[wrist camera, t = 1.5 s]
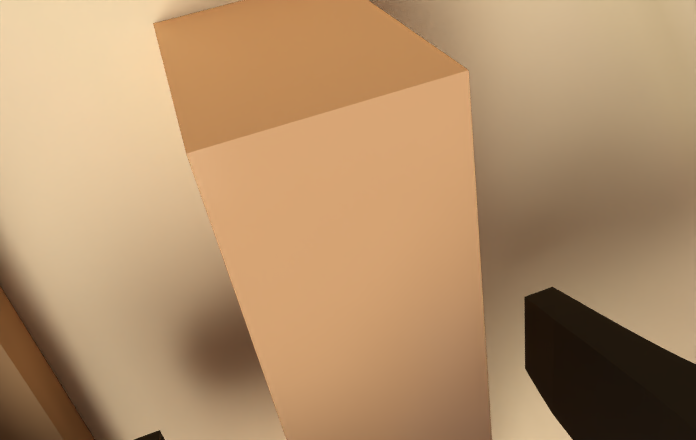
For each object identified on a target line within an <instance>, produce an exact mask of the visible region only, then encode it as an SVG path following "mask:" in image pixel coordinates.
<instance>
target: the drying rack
mask: <svg viewBox="0 0 696 440" xmlns="http://www.w3.org/2000/svg"><path fill="white" fill-rule="evenodd" d="M0 440H94V438H93V436H92V435H91V433H90V431H89V430H88V428H87V427H86V425H85V423H84V422H83V420H82V418H81V417H80V415H79V414H78V412H77V410H76V409H75V407H74V405H73V404H72V402H71V401H70V399H69V397H68V396H67V394H66V392H65V391H64V389H63V388H62V386H61V384H60V383H59V381H58V379H57V378H56V376H55V375H54V373H53V371H52V370H51V368H50V366H49V365H48V363H47V362H46V360H45V358H44V357H43V355H42V354H41V352H40V350H39V349H38V347H37V345H36V344H35V342H34V341H33V339H32V337H31V336H30V334H29V332H28V331H27V329H26V328H25V326H24V324H23V323H22V321H21V319H20V318H19V316H18V315H17V313H16V311H15V310H14V308H13V306H12V305H11V303H10V302H9V300H8V298H7V297H6V295H5V293H4V292H3V290H2V289H1V287H0Z"/></svg>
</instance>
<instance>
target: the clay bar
mask: <svg viewBox="0 0 696 440" xmlns="http://www.w3.org/2000/svg"><path fill="white" fill-rule="evenodd" d="M153 25H154V28H155V32H156V36H157V40H158V44H159V48H160V52H161V56H162V60H163V64H164V68H165V72H166V76H167V80H168V83H169V87H170V91H171V95H172V99H173V103H174V107H175V111H176V115H177V119H178V123H179V127H180V131H181V135H182V139H183V142H184V146H185V150H186V154H187V157H188V160H189V163H190V165H191V168H192V171H193V174H194V177H195V180H196V183H197V185H198V188H199V191H200V194H201V197H202V200H203V203H204V205H205V208H206V211H207V214H208V217H209V220H210V222H211V225H212V228H213V231H214V234H215V237H216V240H217V242H218V245H219V248H220V251H221V254H222V257H223V260H224V262H225V265H226V268H227V271H228V274H229V277H230V280H231V282H232V285H233V288H234V291H235V294H236V297H237V299H238V302H239V305H240V308H241V311H242V314H243V317H244V319H245V322H246V325H247V328H248V331H249V334H250V337H251V339H252V342H253V345H254V348H255V351H256V354H257V357H258V359H259V362H260V365H261V368H262V371H263V374H264V376H265V379H266V382H267V385H268V388H269V391H270V394H271V396H272V399H273V402H274V405H275V408H276V411H277V414H278V416H279V419H280V422H281V425H282V428H283V431H284V434H285V436H286V439H287V440H492V435H491V419H490V403H489V387H488V371H487V355H486V339H485V323H484V308H483V292H482V276H481V260H480V244H479V228H478V212H477V196H476V180H475V165H474V149H473V133H472V117H471V101H470V85H469V70H468V69H466V68H465V67H463V66H462V65H460V64H459V63H458V62H456V61H455V60H453V59H452V58H450V57H449V56H448V55H446V54H445V53H443V52H442V51H440V50H439V49H437V48H436V47H435V46H433V45H432V44H430V43H429V42H427V41H426V40H425V39H423V38H422V37H420V36H419V35H417V34H416V33H414V32H413V31H412V30H410V29H409V28H407V27H406V26H404V25H403V24H402V23H400V22H399V21H397V20H396V19H394V18H393V17H392V16H390V15H389V14H387V13H386V12H384V11H383V10H381V9H380V8H379V7H377V6H376V5H374V4H373V3H371V2H370V1H369V0H242V1H238V2H234V3H230V4H227V5H223V6H219V7H215V8H211V9H207V10H203V11H200V12H196V13H192V14H188V15H184V16H180V17H176V18H173V19H169V20H165V21H161V22H157V23H153Z"/></svg>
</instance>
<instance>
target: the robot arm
mask: <svg viewBox="0 0 696 440" xmlns="http://www.w3.org/2000/svg"><path fill="white" fill-rule="evenodd" d="M525 369H526V371H527V372H528V374H529V376H530V378H531V379H532V381H533V383H534V384H535V386H536V388H537V389H538V391H539V393H540V394H541V396H542V398H543V399H544V401H545V402H546V404H547V406H548V407H549V409H550V410H551V412H552V413H553V415H554V416H555V417H556V419H557V420H558V421H559V423H560V424H561V425H562V426H563V428H564V429H565V430H566V432H567V433H568V434H569V435H570V437H571V438H572V439H573V440H696V364H694V363H692V362H690V361H687V360H685V359H683V358H681V357H679V356H677V355H675V354H673V353H671V352H669V351H667V350H665V349H663V348H662V347H660V346H658V345H656V344H654V343H652V342H650V341H648V340H646V339H645V338H643V337H641V336H639V335H637V334H635V333H633V332H631V331H630V330H628V329H626V328H624V327H622V326H620V325H619V324H617V323H615V322H613V321H612V320H610V319H608V318H606V317H604V316H603V315H601V314H599V313H597V312H596V311H594V310H592V309H590V308H589V307H587V306H585V305H583V304H582V303H580V302H578V301H576V300H575V299H573V298H571V297H569V296H568V295H566V294H564V293H562V292H561V291H559V290H557V289H555V288H553V287H551V288H548V289H545V290H542V291H540V292H537V293H534V294H531V295H529V296H526V297H525ZM134 440H165V439H164V437H163V435H162V434H161V432H160V430H159V431H156V432H154V433H151V434H148V435H145V436H143V437H140V438H137V439H134Z"/></svg>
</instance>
